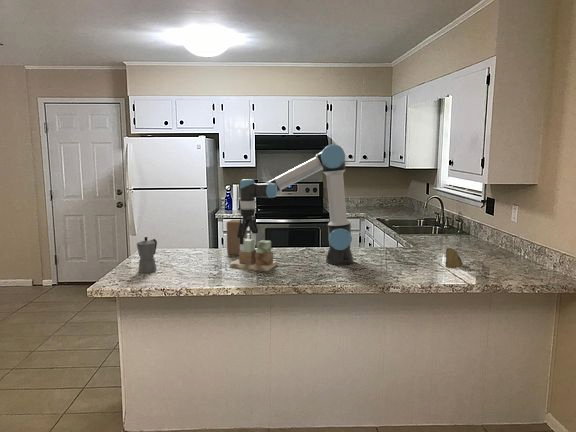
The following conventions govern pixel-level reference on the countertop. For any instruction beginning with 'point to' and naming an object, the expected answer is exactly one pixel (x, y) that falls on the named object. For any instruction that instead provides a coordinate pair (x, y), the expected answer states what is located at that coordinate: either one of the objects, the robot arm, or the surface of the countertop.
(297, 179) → the robot arm
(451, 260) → the rock
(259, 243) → the tower
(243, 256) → the walnut block
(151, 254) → the coffeepot
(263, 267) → the blueprint board
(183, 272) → the countertop surface
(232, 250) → the block
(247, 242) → the sage block
